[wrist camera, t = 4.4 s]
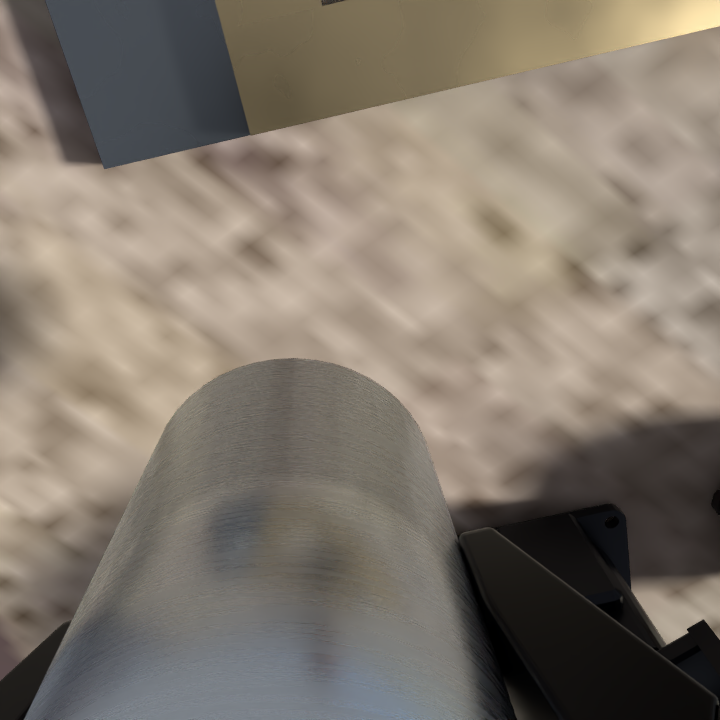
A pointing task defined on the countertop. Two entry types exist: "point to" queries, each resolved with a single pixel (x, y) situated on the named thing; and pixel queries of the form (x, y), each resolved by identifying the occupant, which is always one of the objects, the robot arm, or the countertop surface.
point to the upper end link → (420, 46)
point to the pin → (281, 569)
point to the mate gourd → (716, 502)
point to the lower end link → (150, 75)
